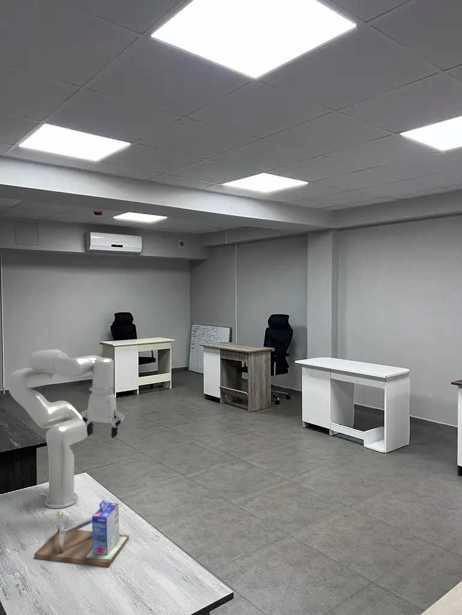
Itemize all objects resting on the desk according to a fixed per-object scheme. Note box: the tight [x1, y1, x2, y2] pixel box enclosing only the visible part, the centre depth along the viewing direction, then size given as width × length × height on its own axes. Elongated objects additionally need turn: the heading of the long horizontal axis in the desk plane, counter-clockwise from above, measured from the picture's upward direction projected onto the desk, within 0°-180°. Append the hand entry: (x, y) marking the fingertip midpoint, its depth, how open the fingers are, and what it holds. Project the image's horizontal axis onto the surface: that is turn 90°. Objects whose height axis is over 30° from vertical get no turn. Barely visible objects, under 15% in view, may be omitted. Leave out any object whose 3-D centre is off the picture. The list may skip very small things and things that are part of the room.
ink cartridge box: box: [91, 499, 120, 555], centre depth 149 cm, size 10×6×14 cm, turn 172°
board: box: [34, 527, 130, 568], centre depth 151 cm, size 25×16×2 cm, turn 81°
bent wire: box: [56, 511, 92, 553], centre depth 152 cm, size 15×13×7 cm
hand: (102, 435), depth 174 cm, fingers open, 9 cm apart
